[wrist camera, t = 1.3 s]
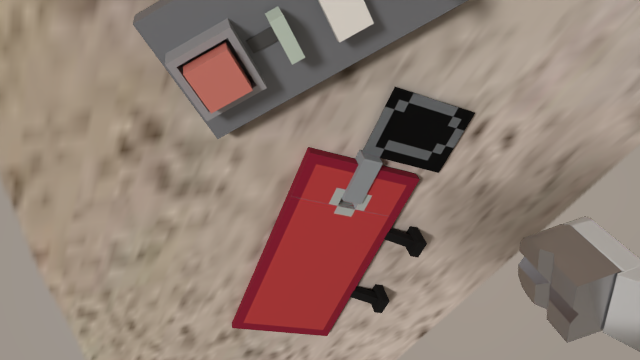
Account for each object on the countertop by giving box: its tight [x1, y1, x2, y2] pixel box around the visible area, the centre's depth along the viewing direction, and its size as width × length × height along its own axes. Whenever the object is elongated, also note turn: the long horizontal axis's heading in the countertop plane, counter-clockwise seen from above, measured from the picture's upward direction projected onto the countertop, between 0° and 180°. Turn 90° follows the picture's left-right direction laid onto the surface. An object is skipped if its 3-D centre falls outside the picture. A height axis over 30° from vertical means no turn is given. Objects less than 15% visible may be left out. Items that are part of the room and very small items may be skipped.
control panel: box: [133, 0, 468, 139], centre depth 33 cm, size 22×10×4 cm, turn 115°
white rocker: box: [318, 0, 374, 42], centre depth 32 cm, size 3×4×1 cm, turn 25°
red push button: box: [183, 42, 253, 114], centre depth 32 cm, size 3×3×2 cm
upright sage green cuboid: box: [265, 6, 305, 65], centre depth 32 cm, size 1×3×2 cm, turn 26°
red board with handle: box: [232, 87, 475, 336], centre depth 47 cm, size 30×3×15 cm
